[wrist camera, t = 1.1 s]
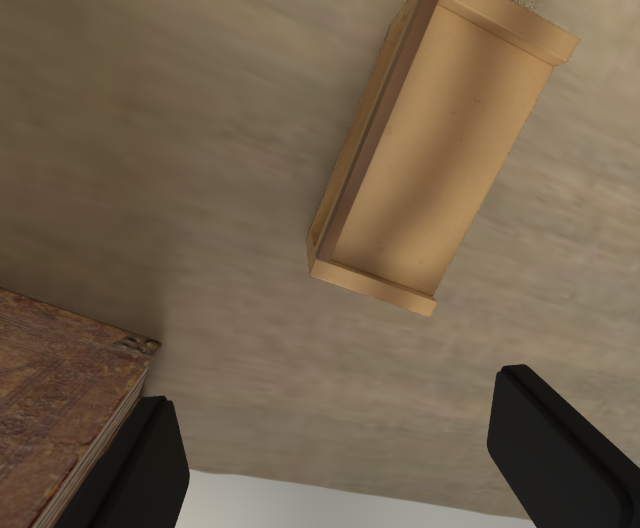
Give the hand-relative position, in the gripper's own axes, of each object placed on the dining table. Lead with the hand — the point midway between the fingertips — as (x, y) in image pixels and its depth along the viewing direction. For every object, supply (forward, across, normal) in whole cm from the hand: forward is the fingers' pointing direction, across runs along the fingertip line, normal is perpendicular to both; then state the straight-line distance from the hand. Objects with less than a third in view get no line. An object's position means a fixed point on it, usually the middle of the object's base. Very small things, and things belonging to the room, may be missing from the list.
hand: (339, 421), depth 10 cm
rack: (+28, -9, -6) cm, 30 cm away
